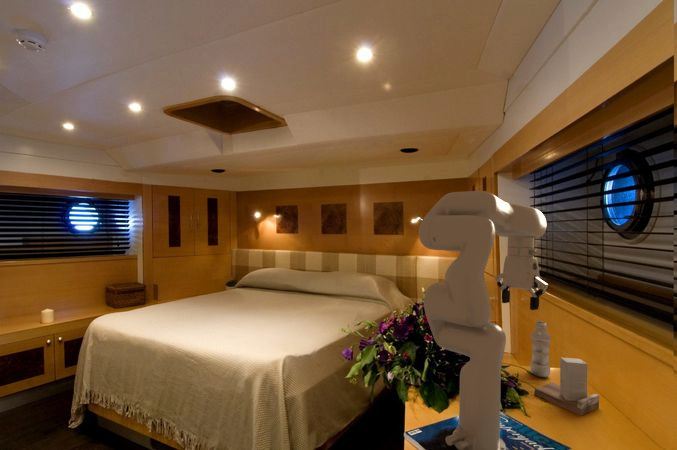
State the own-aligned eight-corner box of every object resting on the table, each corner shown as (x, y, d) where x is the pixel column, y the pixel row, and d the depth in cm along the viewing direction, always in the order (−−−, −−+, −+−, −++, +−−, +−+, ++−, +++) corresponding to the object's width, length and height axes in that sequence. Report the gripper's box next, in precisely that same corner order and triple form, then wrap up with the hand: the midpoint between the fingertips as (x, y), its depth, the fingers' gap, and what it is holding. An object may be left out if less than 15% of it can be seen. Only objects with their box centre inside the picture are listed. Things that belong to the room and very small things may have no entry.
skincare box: (579, 395, 108) (580, 358, 108) (587, 402, 104) (588, 363, 104) (559, 394, 109) (559, 356, 109) (566, 400, 105) (566, 362, 105)
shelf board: (582, 416, 100) (582, 402, 100) (534, 394, 112) (534, 382, 112) (599, 408, 104) (600, 395, 104) (552, 388, 117) (552, 376, 117)
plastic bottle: (532, 378, 125) (533, 324, 125) (528, 370, 131) (529, 319, 131) (552, 380, 123) (553, 325, 123) (547, 373, 129) (548, 320, 129)
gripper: (555, 254, 102) (554, 311, 102) (503, 250, 118) (502, 299, 118) (540, 255, 99) (538, 313, 99) (489, 250, 114) (488, 301, 114)
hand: (519, 306), depth 108 cm, fingers open, 9 cm apart
